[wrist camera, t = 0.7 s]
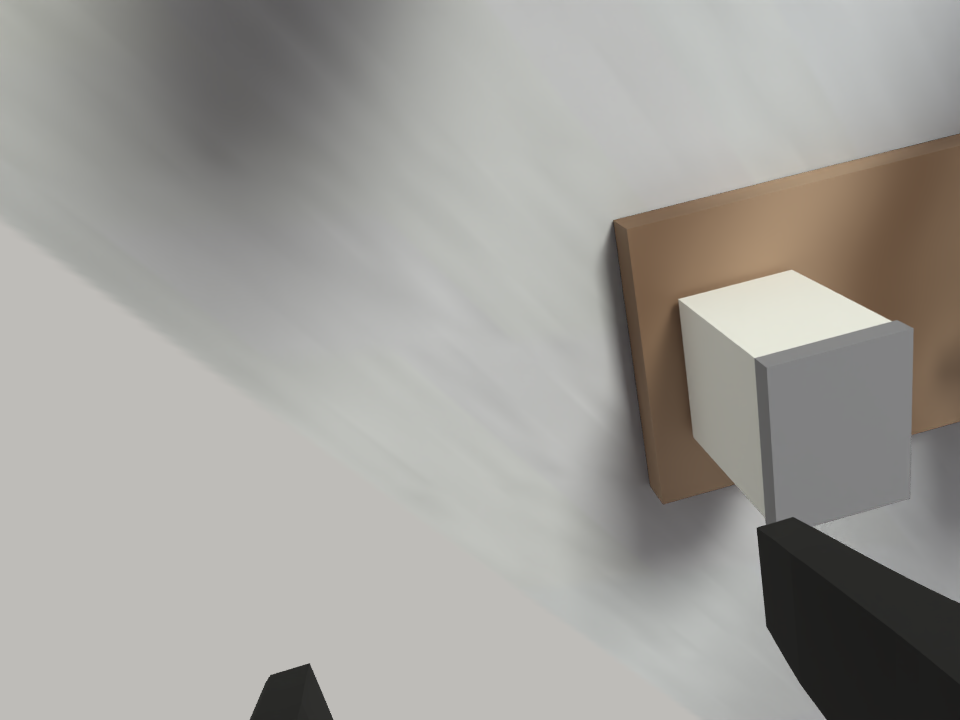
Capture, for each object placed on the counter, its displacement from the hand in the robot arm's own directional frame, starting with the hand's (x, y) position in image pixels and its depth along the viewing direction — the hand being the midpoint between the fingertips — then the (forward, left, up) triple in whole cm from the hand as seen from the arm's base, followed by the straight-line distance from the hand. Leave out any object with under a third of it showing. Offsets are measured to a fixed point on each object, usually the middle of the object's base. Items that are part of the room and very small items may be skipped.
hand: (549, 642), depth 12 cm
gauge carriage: (-7, +1, -8) cm, 11 cm away
